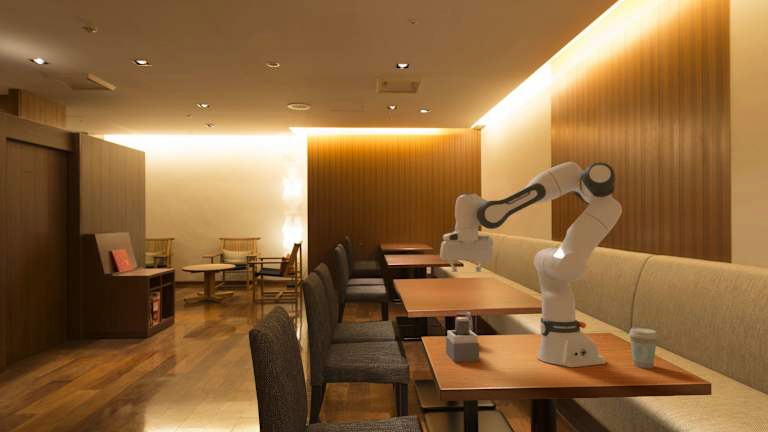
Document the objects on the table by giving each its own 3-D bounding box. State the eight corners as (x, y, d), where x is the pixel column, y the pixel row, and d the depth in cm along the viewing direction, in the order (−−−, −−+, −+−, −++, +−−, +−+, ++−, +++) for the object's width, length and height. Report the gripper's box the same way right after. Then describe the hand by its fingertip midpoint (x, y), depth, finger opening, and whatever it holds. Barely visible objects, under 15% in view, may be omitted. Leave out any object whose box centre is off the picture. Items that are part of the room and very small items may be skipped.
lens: (457, 337, 172) (457, 316, 172) (470, 339, 170) (471, 317, 170) (453, 340, 167) (454, 318, 167) (467, 342, 165) (467, 320, 165)
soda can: (452, 343, 186) (452, 313, 186) (459, 339, 192) (459, 310, 192) (468, 346, 183) (468, 315, 183) (474, 342, 188) (475, 312, 189)
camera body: (469, 352, 174) (469, 329, 174) (479, 361, 163) (479, 336, 163) (446, 352, 173) (446, 329, 173) (453, 361, 162) (453, 337, 162)
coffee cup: (623, 362, 162) (623, 327, 162) (647, 361, 163) (647, 327, 163) (639, 370, 154) (639, 333, 154) (663, 369, 155) (663, 333, 155)
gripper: (489, 235, 185) (489, 270, 185) (438, 235, 183) (438, 271, 182) (495, 236, 179) (495, 272, 179) (442, 236, 176) (442, 273, 176)
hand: (466, 271), depth 180 cm, fingers open, 8 cm apart
